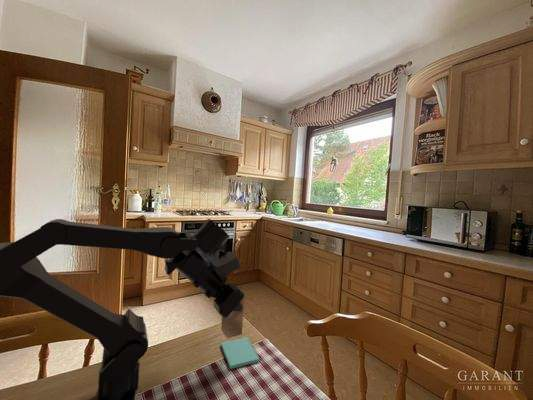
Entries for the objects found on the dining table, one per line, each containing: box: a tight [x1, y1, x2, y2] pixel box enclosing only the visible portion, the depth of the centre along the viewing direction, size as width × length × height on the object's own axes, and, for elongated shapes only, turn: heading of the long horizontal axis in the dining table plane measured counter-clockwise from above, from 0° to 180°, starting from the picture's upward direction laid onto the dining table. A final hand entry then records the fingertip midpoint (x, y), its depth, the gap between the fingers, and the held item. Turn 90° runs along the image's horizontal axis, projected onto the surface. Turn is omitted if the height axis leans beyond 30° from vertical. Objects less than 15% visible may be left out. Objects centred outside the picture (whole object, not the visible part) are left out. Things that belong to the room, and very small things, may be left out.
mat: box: [220, 337, 260, 370], centre depth 62 cm, size 8×9×1 cm
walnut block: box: [220, 297, 245, 339], centre depth 60 cm, size 4×4×10 cm
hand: (238, 305), depth 61 cm, fingers closed on walnut block, 4 cm apart
